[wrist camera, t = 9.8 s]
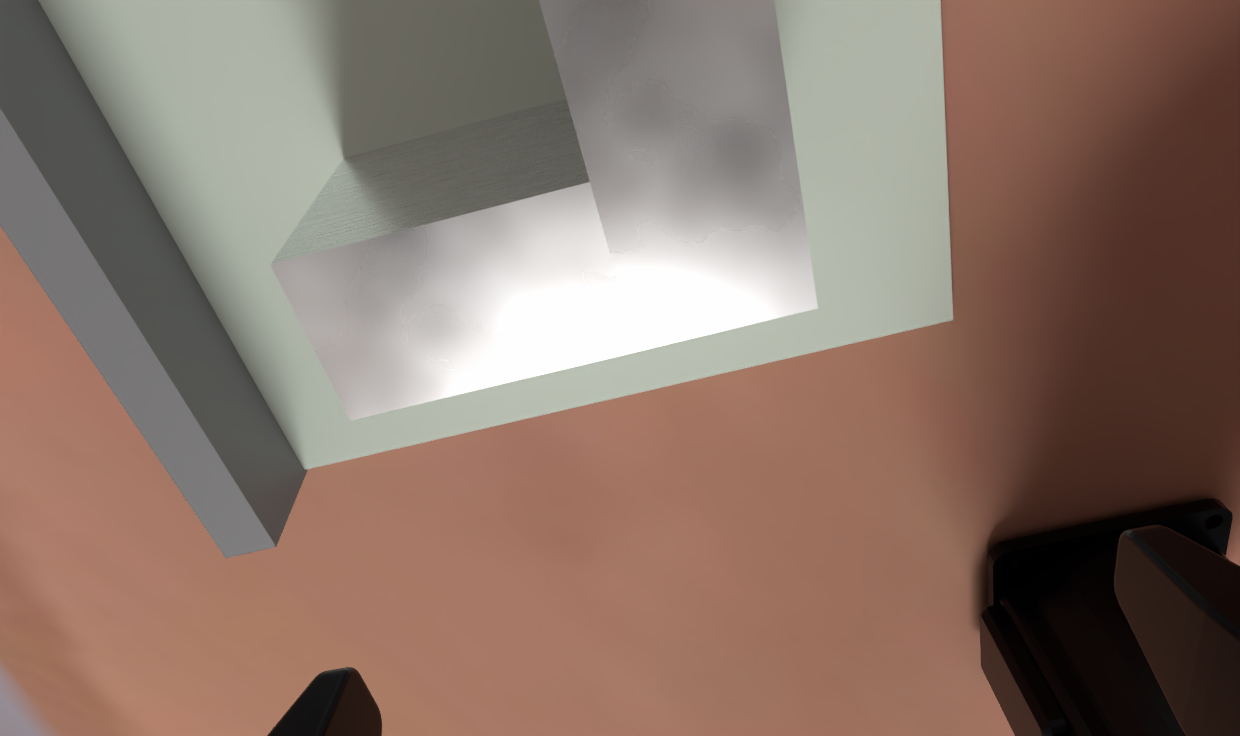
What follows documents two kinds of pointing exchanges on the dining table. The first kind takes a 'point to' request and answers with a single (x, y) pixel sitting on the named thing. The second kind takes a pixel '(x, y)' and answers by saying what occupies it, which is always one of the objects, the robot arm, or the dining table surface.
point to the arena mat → (476, 91)
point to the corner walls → (133, 292)
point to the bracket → (565, 215)
